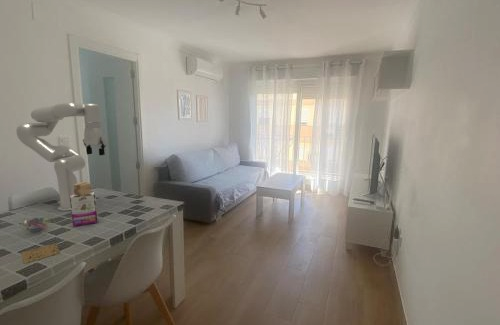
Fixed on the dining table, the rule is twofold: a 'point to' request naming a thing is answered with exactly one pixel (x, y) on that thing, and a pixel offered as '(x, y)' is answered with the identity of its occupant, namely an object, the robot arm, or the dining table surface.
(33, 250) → the cookie
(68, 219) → the dining table surface
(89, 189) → the oak block
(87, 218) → the candy bar box
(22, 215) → the dining table surface
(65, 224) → the dining table surface
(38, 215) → the dining table surface
